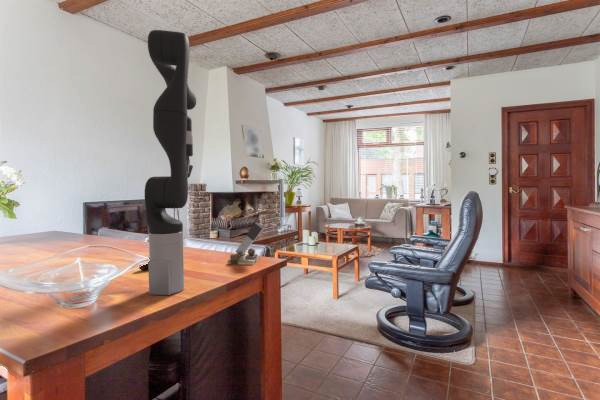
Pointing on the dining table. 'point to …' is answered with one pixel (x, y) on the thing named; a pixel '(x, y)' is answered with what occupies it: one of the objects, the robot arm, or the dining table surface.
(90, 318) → the dining table surface
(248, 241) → the lever
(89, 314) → the dining table surface
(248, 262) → the cracker base
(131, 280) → the dining table surface
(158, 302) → the dining table surface
